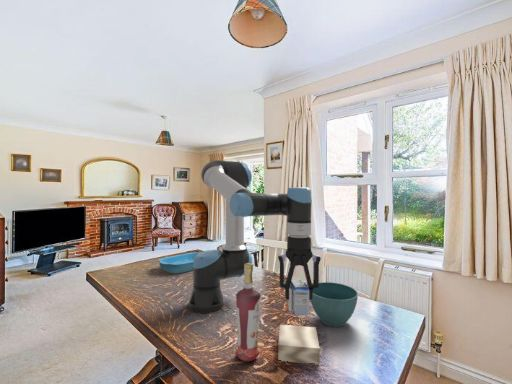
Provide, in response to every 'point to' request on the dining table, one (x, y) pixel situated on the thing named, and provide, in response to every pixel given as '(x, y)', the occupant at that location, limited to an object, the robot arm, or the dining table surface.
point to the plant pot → (334, 303)
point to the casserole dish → (178, 263)
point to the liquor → (247, 317)
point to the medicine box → (300, 297)
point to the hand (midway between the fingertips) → (298, 309)
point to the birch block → (298, 344)
